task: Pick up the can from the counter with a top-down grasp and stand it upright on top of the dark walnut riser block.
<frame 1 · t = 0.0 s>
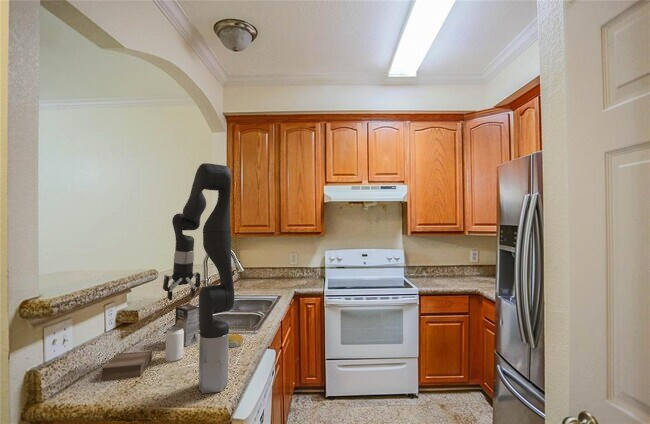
hand: (181, 298, 131), 22 cm above the counter, tool pointing down, fingers open, 8 cm apart
coffee box: (186, 342, 140), on the counter
walnut riser: (128, 370, 114), on the counter
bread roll: (233, 344, 139), on the counter
can: (174, 359, 124), on the counter
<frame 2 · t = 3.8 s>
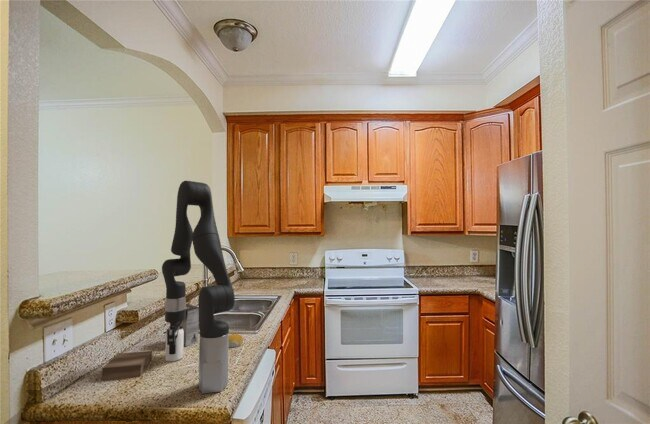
hand: (174, 350, 124), 3 cm above the counter, tool pointing down, fingers closed on can, 6 cm apart
can: (174, 359, 124), on the counter, touching gripper
everything else where it was.
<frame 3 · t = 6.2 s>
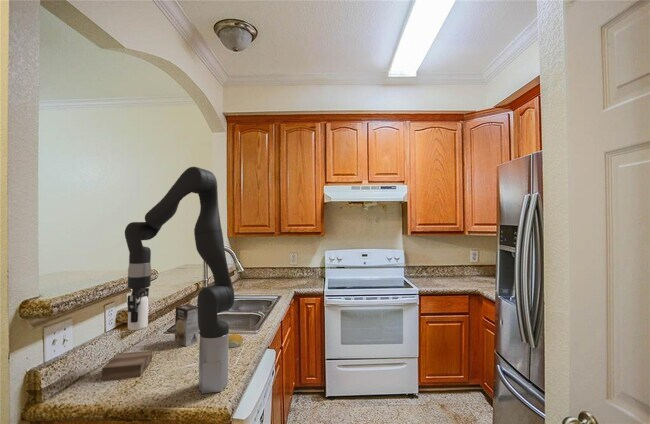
hand: (138, 319, 116), 18 cm above the counter, tool pointing down, fingers closed on can, 6 cm apart
can: (137, 328, 116), point 15 cm above the counter, touching gripper
everything else where it was.
when the fingers open (9 cm above the counter, at t = 9.1 s): can drops 1 cm, resting on walnut riser.
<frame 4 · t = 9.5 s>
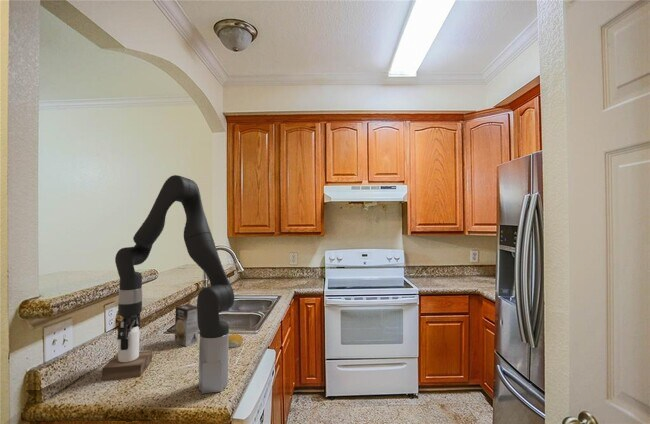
hand: (129, 345, 114), 9 cm above the counter, tool pointing down, fingers open, 8 cm apart
can: (128, 359, 114), point 4 cm above the counter, touching walnut riser
everything else where it was.
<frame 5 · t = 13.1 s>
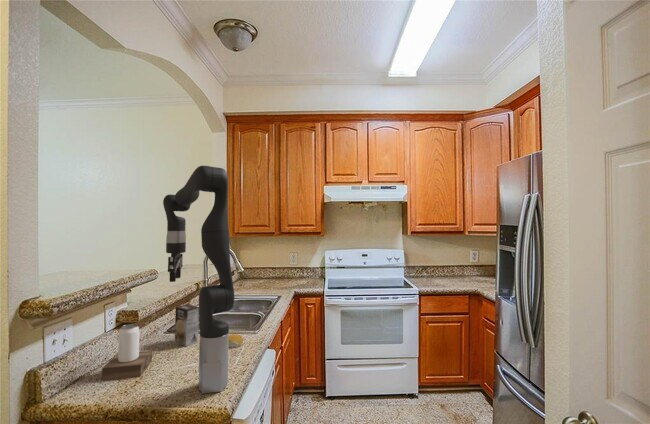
hand: (175, 279, 131), 30 cm above the counter, tool pointing down, fingers open, 8 cm apart
nothing on the counter moved.
at the end: can inside the target area on the walnut riser (0.2 cm from its centre), point 3.8 cm above the walnut riser's base; can tilted 0°; the gripper is holding nothing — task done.
